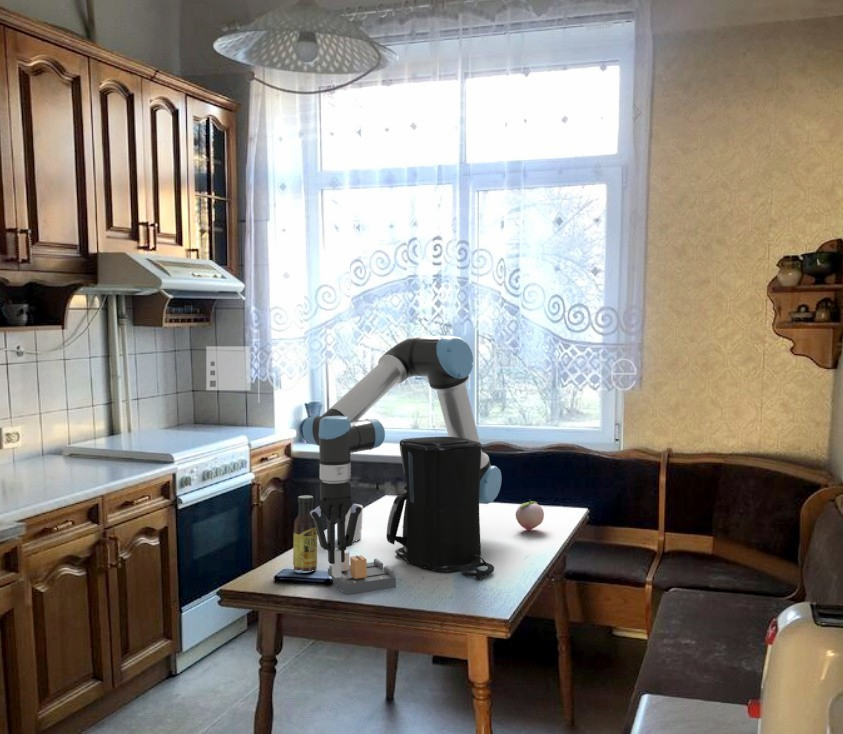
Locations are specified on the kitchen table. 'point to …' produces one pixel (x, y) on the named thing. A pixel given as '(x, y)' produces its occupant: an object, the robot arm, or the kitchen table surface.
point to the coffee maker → (440, 505)
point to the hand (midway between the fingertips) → (336, 575)
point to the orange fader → (358, 566)
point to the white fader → (345, 562)
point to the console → (365, 579)
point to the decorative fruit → (529, 515)
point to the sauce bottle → (305, 537)
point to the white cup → (358, 526)
